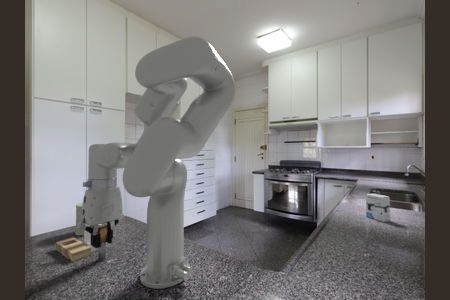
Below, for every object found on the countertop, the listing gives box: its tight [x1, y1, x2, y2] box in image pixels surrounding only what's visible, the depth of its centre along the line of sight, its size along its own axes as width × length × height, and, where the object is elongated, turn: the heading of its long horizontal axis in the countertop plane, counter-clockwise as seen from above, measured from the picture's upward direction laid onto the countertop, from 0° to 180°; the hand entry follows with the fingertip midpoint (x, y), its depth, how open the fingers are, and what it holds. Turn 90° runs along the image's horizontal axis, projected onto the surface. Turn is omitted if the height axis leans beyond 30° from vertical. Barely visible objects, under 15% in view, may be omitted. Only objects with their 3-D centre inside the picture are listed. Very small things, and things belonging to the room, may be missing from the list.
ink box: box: [365, 193, 391, 223], centre depth 99 cm, size 8×5×12 cm, turn 17°
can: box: [74, 202, 102, 236], centre depth 83 cm, size 9×9×12 cm
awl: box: [97, 224, 108, 262], centre depth 60 cm, size 3×3×10 cm
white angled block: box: [83, 223, 108, 254], centre depth 67 cm, size 4×10×9 cm
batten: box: [55, 236, 92, 263], centre depth 65 cm, size 14×5×2 cm, turn 56°
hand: (102, 244), depth 60 cm, fingers closed on awl, 3 cm apart
